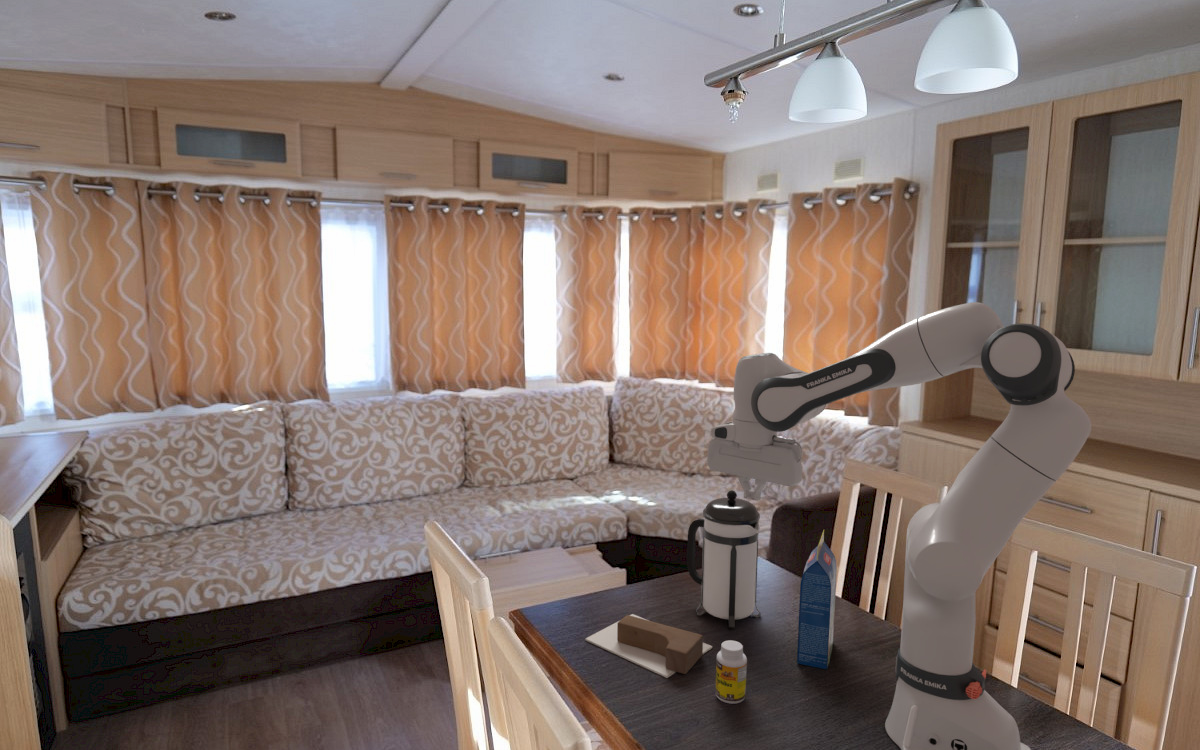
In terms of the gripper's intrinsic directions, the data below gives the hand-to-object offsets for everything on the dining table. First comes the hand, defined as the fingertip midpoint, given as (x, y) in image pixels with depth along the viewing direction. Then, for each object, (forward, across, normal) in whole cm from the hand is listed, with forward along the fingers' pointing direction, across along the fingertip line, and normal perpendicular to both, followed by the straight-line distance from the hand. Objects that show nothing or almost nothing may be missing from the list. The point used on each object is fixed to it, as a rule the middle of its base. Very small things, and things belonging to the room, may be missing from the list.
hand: (752, 498), depth 146 cm
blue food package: (+33, -11, -9) cm, 36 cm away
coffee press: (+33, +13, -11) cm, 37 cm away
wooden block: (+30, +4, +13) cm, 33 cm away
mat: (+33, +17, +12) cm, 39 cm away
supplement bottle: (+33, -6, +17) cm, 38 cm away
